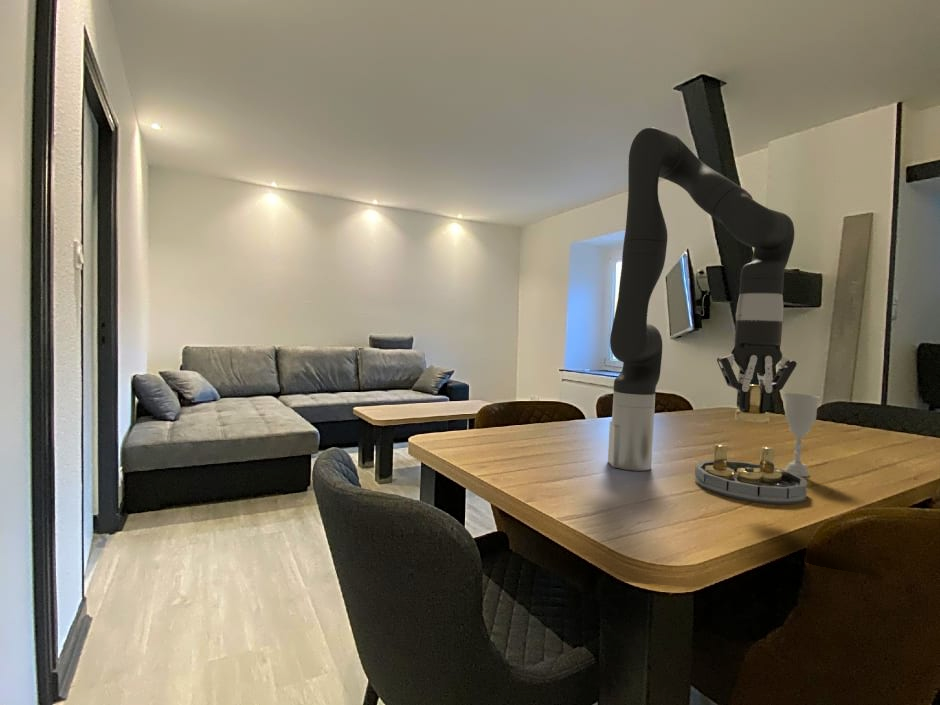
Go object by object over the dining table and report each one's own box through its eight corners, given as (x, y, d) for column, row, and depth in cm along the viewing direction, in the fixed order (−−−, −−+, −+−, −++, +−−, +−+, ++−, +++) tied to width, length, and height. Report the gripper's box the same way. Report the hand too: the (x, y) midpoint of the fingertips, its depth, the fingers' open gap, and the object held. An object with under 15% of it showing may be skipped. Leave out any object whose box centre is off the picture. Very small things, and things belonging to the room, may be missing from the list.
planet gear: (742, 422, 92) (744, 386, 92) (730, 416, 98) (732, 382, 97) (774, 424, 92) (777, 387, 91) (760, 418, 97) (763, 384, 97)
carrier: (717, 500, 95) (720, 459, 95) (681, 471, 115) (683, 437, 114) (829, 507, 93) (832, 465, 93) (773, 476, 113) (776, 441, 113)
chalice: (771, 468, 120) (776, 393, 119) (798, 468, 121) (804, 393, 120) (794, 477, 113) (799, 397, 112) (822, 478, 113) (828, 398, 112)
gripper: (727, 317, 91) (721, 413, 92) (810, 320, 89) (803, 417, 90) (712, 318, 98) (706, 406, 99) (788, 320, 97) (782, 410, 98)
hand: (752, 411), depth 95 cm, fingers closed on planet gear, 2 cm apart
